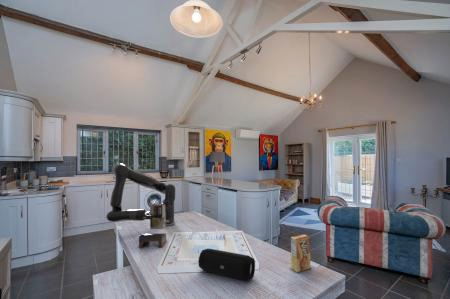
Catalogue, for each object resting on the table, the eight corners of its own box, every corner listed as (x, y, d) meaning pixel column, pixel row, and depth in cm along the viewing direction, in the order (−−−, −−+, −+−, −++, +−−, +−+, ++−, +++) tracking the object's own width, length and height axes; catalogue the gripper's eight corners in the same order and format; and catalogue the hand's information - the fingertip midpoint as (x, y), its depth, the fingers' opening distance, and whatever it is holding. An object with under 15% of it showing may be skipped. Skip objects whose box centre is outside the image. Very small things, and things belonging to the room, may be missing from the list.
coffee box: (166, 226, 153) (166, 203, 154) (162, 229, 147) (162, 205, 147) (153, 226, 154) (153, 203, 154) (149, 229, 148) (149, 205, 148)
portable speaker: (197, 274, 101) (197, 252, 102) (207, 264, 110) (207, 244, 111) (249, 286, 91) (249, 262, 91) (255, 274, 100) (255, 252, 100)
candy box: (304, 264, 109) (303, 233, 109) (311, 268, 105) (310, 236, 106) (291, 268, 105) (290, 236, 105) (297, 272, 101) (296, 239, 102)
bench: (145, 241, 142) (145, 229, 142) (166, 241, 142) (166, 229, 142) (138, 247, 132) (139, 235, 132) (161, 247, 132) (161, 234, 132)
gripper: (133, 212, 143) (158, 212, 143) (141, 207, 158) (164, 206, 158) (133, 223, 143) (158, 223, 143) (141, 217, 158) (164, 217, 158)
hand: (161, 214), depth 151 cm, fingers closed on coffee box, 6 cm apart
